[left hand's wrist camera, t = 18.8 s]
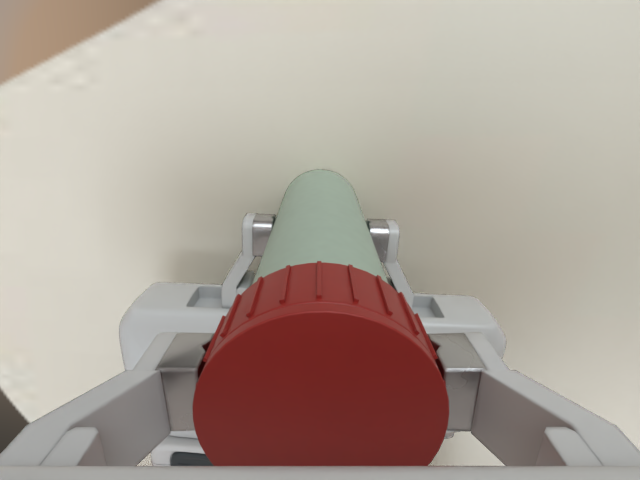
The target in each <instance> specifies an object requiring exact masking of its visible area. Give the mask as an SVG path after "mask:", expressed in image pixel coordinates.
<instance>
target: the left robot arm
mask: <svg viewBox="0 0 640 480" xmlns="http://www.w3.org/2000/svg"><path fill="white" fill-rule="evenodd" d="M214 334H215V333H184V332H180V333H178V332H162V333H159V334H157V336H156V337H155V338H154V340H153V341H152V343H151V344H150V346H149V347H148V348H147V350H146V351H145V353H144V354H143V356H142V357H141V358H140V360H139V361H138V363H137V364H136V365H135V367H134V368H133V370H126V371H124V372H122V373H120V374H119V375H117V376H115V377H113V378H111V379H110V380H108V381H106V382H104V383H102V384H101V385H99V386H97V387H95V388H93V389H91V390H90V391H88V392H86V393H84V394H82V395H81V396H79V397H77V398H75V399H73V400H72V401H70V402H68V403H66V404H64V405H62V406H61V407H59V408H57V409H55V410H53V411H52V412H50V413H48V414H46V415H44V416H43V417H41V418H39V419H37V420H35V421H33V422H32V423H30V424H28V425H26V426H25V428H24V429H23V430H22V431H21V432H20V433H19V434H18V435H17V436H16V437H15V439H14V440H13V441H12V442H11V443H10V444H9V445H8V446H7V448H6V449H5V450H4V451H3V452H2V453H1V454H0V480H640V451H639V450H638V449H637V448H636V447H635V446H634V444H633V443H632V442H631V441H630V440H629V439H628V438H627V437H626V436H625V435H624V433H623V432H622V431H621V430H620V429H619V428H618V427H617V426H616V425H614V424H612V423H610V422H609V421H607V420H605V419H603V418H601V417H600V416H598V415H596V414H594V413H592V412H590V411H589V410H587V409H585V408H583V407H581V406H580V405H578V404H576V403H574V402H572V401H570V400H569V399H567V398H565V397H563V396H561V395H560V394H558V393H556V392H554V391H552V390H551V389H549V388H547V387H545V386H543V385H541V384H540V383H538V382H536V381H534V380H532V379H531V378H529V377H527V376H525V375H523V374H521V373H520V372H518V371H516V370H509V368H508V367H507V366H506V364H505V363H504V361H503V360H502V359H501V357H500V356H499V355H498V353H497V352H496V350H495V349H494V348H493V346H492V345H491V343H490V342H489V341H488V339H487V338H486V336H485V335H484V334H483V333H481V332H468V333H436V334H427V335H428V337H429V339H430V342H431V344H432V346H433V348H434V350H435V353H436V355H437V357H438V358H437V359H435V362H436V364H437V366H438V369H439V371H440V373H441V376H442V378H443V380H444V381H445V382H446V390H447V394H448V398H449V419H448V427H447V430H446V431H471V433H472V434H473V435H474V436H475V437H476V438H477V439H478V440H479V441H480V442H481V443H482V444H483V445H484V446H485V447H486V448H488V449H489V450H490V451H491V452H492V453H493V454H494V455H495V456H496V457H497V458H498V459H499V460H500V461H501V462H502V463H504V464H505V465H506V466H136V465H138V464H139V463H140V462H141V461H142V460H143V459H144V458H145V457H146V456H147V455H148V454H149V453H150V452H151V451H152V450H153V449H155V448H156V447H157V446H158V445H159V444H160V443H161V442H162V441H163V440H164V439H165V438H166V437H167V436H168V435H169V434H171V431H195V427H194V422H193V406H192V405H193V398H194V392H195V389H196V388H195V387H196V383H198V380H199V377H200V375H201V372H202V370H203V368H204V365H205V363H206V362H204V361H203V358H204V356H205V354H206V352H207V349H208V347H209V345H210V343H211V341H212V338H213V336H214Z"/></svg>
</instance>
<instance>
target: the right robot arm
mask: <svg viewBox="0 0 640 480" xmlns="http://www.w3.org/2000/svg"><path fill="white" fill-rule="evenodd" d="M275 220H276V216H275V215H271V214H256V213H247V214H246V215H245V217H244V219H243V223H242V251H241V252H240V254H239V256H238V257H237V259H236V261H235V262H234V264H233V266H232V267H231V269H230V271H229V272H228V274H227V276H226V278H225V280H224V282H223V284H222V285H217V284H194V283H172V282H156V283H154V284H152V285H151V286H149V287H148V288H147V289H146V290H145V291H144V292H143V293H142V294H141V295H140V296H139V297H138V298H137V299H136V300H135V301H134V302H133V303H132V305H131V306H130V307H129V308H128V310H127V311H126V312H125V314H124V316H123V317H122V319H121V322H120V325H119V339H120V346H121V352H122V357H123V363H124V367H125V371H126V370H133V368H134V367H135V365H136V364H137V363H138V361H139V360H140V358H141V357H142V356H143V354H144V353H145V351H146V350H147V348H148V347H149V346H150V344H151V343H152V341H153V340H154V338H155V337H156V336H157V334H159V333H162V332H178V333H180V332H184V333H215V332H216V329H217V327H218V325H219V323H220V320H221V318H222V316H226V315H227V313H228V311H229V309H230V308H231V306H232V305H233V302H234V300H235V297H236V296H237V295H238V294H240V295H241V294H242V293H243V292H244V291H245V290H246V289H247V288H249V287H250V286H251V285H252V284H253V281H254V278H255V273H254V272H253V271H247V269H248V268H249V266H250V264H251V263H252V261H253V260H254V258H255V256H263V253H264V251H265V248H266V245H267V242H268V239H269V237H270V234H271V231H272V228H273V226H274V223H275ZM366 224H367V227H368V230H369V232H370V235H371V238H372V240H373V243H374V246H375V249H376V251H377V254H378V257H379V259H380V262H383V263H384V265H385V267H386V270H387V272H388V274H389V276H390V278H391V279H390V278H389V277H386V278H387V281H388V284H389V285H391V286H392V287H393V288H394V289H395V290H396V291H397V292H398V293H400V292H402V293H403V294H404V297H405V299H406V301H407V303H408V304H409V306H410V307H411V309H412V311H413V312H414V314H416V313H418V315H419V317H420V319H421V322H422V324H423V326H424V328H425V330H426V333H427V334H436V333H468V332H481V333H483V334H484V335H485V336H486V338H487V339H488V341H489V342H490V343H491V345H492V346H493V348H494V349H495V350H496V352H497V353H498V355H499V356H500V357H501V359H502V358H503V355H504V352H505V348H506V337H505V334H504V332H503V330H502V328H501V326H500V325H499V323H498V322H497V320H496V319H495V318H494V316H493V315H492V314H491V313H490V311H489V310H488V309H487V308H486V307H485V306H484V305H483V304H482V303H481V302H480V301H479V300H478V299H477V298H475V297H473V296H464V295H441V294H418V293H413V292H412V290H411V288H410V286H409V284H408V282H407V280H406V278H405V275H404V273H403V271H402V269H401V267H400V265H399V263H398V261H397V251H398V243H399V235H400V234H399V226H398V224H397V223H396V221H395V220H383V219H367V220H366ZM454 432H460V431H446V434H445V437H444V439H447V438H452V437H453V435H454ZM151 461H152V465H153V466H214V465H213V464H212V463H211V461H210V460H209V459H208V457H207V456H206V454H205V453H204V451H203V449H202V447H201V445H200V443H199V441H198V438H197V435H196V432H195V431H171V434H169V435H168V436H167V437H166V438H165V439H164V440H163V441H162V442H161V443H160V444H159V445H158V446H157V447H156V448H155V449H153V450H152V451H151Z"/></svg>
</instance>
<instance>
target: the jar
mask: <svg viewBox="0 0 640 480" xmlns="http://www.w3.org/2000/svg"><path fill="white" fill-rule="evenodd" d="M317 261H321V263H323V262H325V263H336V264H342V265H347V266H348V264H350V265H353V267H355V268H358V269H361V270H364V271H367V272H369V273H371V274H373V275H375V276H377V275H379V276H381V279H382V280H383V281H385V282H386V283H388V281H387V278H386V276H385V273H384V270H383V268H382V265H381V262H380V259H379V257H378V254H377V251H376V249H375V246H374V243H373V240H372V238H371V235H370V232H369V230H368V227H367V224H366V221H365V219H364V216H363V213H362V210H361V208H360V205H359V202H358V200H357V197H356V194H355V192H354V190H353V188H352V186H351V185H350V183H349V182H348V181H347V180H346V179H345V178H343V177H342V176H341V175H339V174H337V173H335V172H332V171H328V170H312V171H308V172H306V173H303V174H302V175H300V176H298V177H297V178H296V179H295V180H294V181H293V182H292V183H291V184H290V185H289V187H288V188H287V190H286V193H285V195H284V198H283V201H282V203H281V206H280V209H279V212H278V215H277V217H276V220H275V223H274V226H273V228H272V231H271V234H270V237H269V239H268V242H267V245H266V248H265V251H264V253H263V256H262V259H261V262H260V264H259V267H258V270H257V273H256V276H255V278H254V281H253V284H254V283H255V282H256V281H257V280H258V278H259V277H261V276H262V277H265V276H267V275H268V274H271V273H273V272H275V271H278V270H280V269H283V268H286V266H287V265H290V266H294V265H299V264H306V263H317Z"/></svg>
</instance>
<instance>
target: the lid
mask: <svg viewBox="0 0 640 480" xmlns="http://www.w3.org/2000/svg"><path fill="white" fill-rule="evenodd" d="M437 358H438V357H437V355H436V353H435V350H434V348H433V346H432V344H431V342H430V339H429V337H428V335H427V333H426V330H425V328H424V326H423V324H422V322H421V319H420V317H419V315H418V313H416V314H414V312H413V311H412V309H411V307H410V306H409V304H408V303H407V301H406V299H405V297H404V294H403V293H402V292H400V293H398V292H397V291H396V290H395V289H394V288H393V287H392V286H391V285H389V284H388V283H386V282H385V281H383V280H382V279H381V276H379V275H377V276H375V275H373V274H371V273H369V272H367V271H364V270H361V269H358V268H355V267H353V265H350V264H348V266H347V265H342V264H336V263H325V262H323V263H321V261H317V263H306V264H299V265H294V266H290V265H287V266H286V268H283V269H280V270H278V271H275V272H273V273H271V274H268V275H267V276H265V277H262V276H261V277H259V278H258V280H257V281H256V282H255V283H254V284H252V285H251V286H250V287H249V288H247V289H246V290H245V291H244V292H243V293H242V294H241V295H240V294H238V295H237V296H236V297H235V300H234V302H233V305H232V306H231V308H230V309H229V311H228V313H227V315H226V316H222V318H221V320H220V323H219V325H218V327H217V329H216V332H215V334H214V336H213V338H212V341H211V343H210V345H209V347H208V349H207V352H206V354H205V356H204V358H203V361H204V362H206V363H205V365H204V368H203V370H202V372H201V375H200V377H199V380H198V383H196V387H195V388H196V389H195V392H194V398H193V405H192V406H193V422H194V427H195V432H196V435H197V438H198V441H199V443H200V445H201V447H202V449H203V451H204V453H205V454H206V456H207V457H208V459H209V460H210V461H211V463H212V464H213V465H214V466H428V465H429V464H430V462H431V461H432V460H433V458H434V457H435V455H436V454H437V452H438V451H439V449H440V446H441V444H442V442H443V440H444V437H445V434H446V430H447V427H448V419H449V398H448V394H447V390H446V382H445V381H444V380H443V378H442V376H441V373H440V371H439V369H438V366H437V364H436V362H435V359H437Z"/></svg>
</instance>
